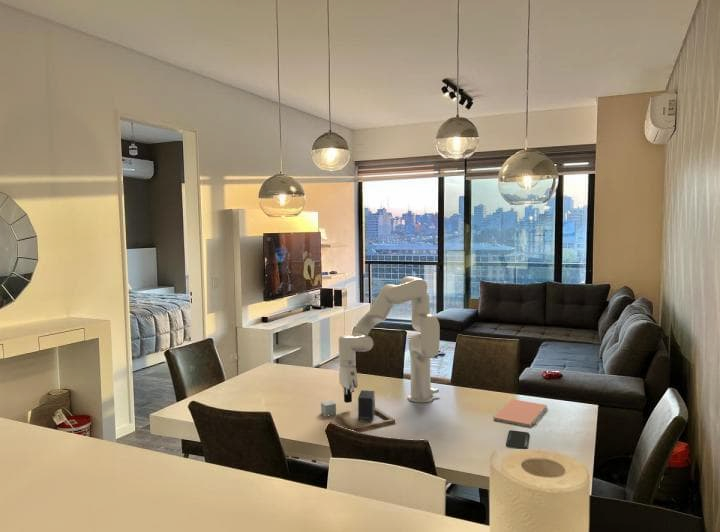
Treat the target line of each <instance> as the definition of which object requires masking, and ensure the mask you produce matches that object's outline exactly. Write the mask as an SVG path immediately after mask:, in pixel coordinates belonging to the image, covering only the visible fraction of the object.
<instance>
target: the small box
mask: <svg viewBox="0 0 720 532" xmlns="http://www.w3.org/2000/svg"><path fill="white" fill-rule="evenodd" d="M375 408H376V395H375V390H363V389H362V390H360V393H359V394H358V397H357V409H358V410H357V414H358V415H357V421H359V422H373V419H374V415H375V414H376V413H375Z"/></svg>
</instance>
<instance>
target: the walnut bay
mask: <svg viewBox="0 0 720 532" xmlns="http://www.w3.org/2000/svg"><path fill="white" fill-rule="evenodd" d="M374 414H375V415H378V416H379V417H380V418H383V419H384V420H381V421H376V422H372V423H371V422H370V423H367V424H363V425H358V426H354V425H353V424H352V423H350V422H348V421H347V420H346V419H344V418H343V417H342V416H341V415H339V414H336V415H334V419H335V420H336V421H337V422H338V423H340V424H342V425H343V426H344V427H345V428H347V430H349V429H351V430H354V431H358V432H361V431H366V430H370V429H376V428H380V427H385V426H389V425H394V424H396V419H395V418H393V417H391V416H390V415H388V414H386V413H385V412H383V411H382V410H380V409H379V408H377V407H375V413H374ZM351 430H350V431H351Z"/></svg>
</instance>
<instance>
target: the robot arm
mask: <svg viewBox="0 0 720 532" xmlns="http://www.w3.org/2000/svg"><path fill="white" fill-rule="evenodd" d="M427 291H428V283H427V281H426V280H425V279H424V278H421V277H416V276H411V275H408V276H404V277H402V278H401V281H400V284H398V285H397V284H393V283H387V284H385V285H383V286H382V287H381V289H380V291H379V293H378V295H377V296H376V298H375V300H374V302H373V304H372V306H371V307H370V309H369V310H368V311H367V312H366V313H365V314H364V316H362V317H361V319H360V320H359V321H358V322H357V323H356V325H355V327H354V328H353V330H352V332H351V334H344V335H340V336H339V338H338V366H339V369H338V371H339V372H338V376H339V377H338V379H339V381H338V382H339V385H340V386H341V387H342V388H343V389H342V390H343V401H344V403H346V404H347V403H352V402H353V393H354V392H355V388H356V389H357V388H358V387H359V386H358V374H357V367H356V352H369V351H370V350H371V349H373V347H374V340H373V338H372V337H371V336H370V335H369V333H370V332H371V330H372V329H373V328H374V327H375V326H376V325H378V324H380V323H382V322H384V321H386V319H387V318H388V316H389V314H390V312H391V310H392V309H393V306H394V305H399V304H404V303H407V302H411V326H412V328H413V330H414V331H417V332H419V333H416V334H413V335H411V337H410V338H409V341H408V350H409V357H410V394H408V395H407V399H408V401H410V402H413V403H417V404H418V403H419V404H423V403H430V402H432V401H434V399H435V398H434V397H435V396H434V394H437V393H439V392H440V389H439V388H433V387H432V388H431V384H432V383H431V359H432V358H434V357H436V356H437V354H438V353H439V351H440V337H441V335H440V332H441V329H440V328H441V327H440V322H439V320H438V318H437V317H436V316H435V315H433V314H431V312H430V296H429V294H428V292H427Z"/></svg>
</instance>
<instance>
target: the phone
mask: <svg viewBox="0 0 720 532" xmlns="http://www.w3.org/2000/svg"><path fill="white" fill-rule="evenodd" d="M529 438H530V433H529V432H528V431H519V430H513V429H511V430H508V434H507V437H506V441H505V447H507V448H512V449H520V450H527V449H528V447H529V446H528V445H529Z"/></svg>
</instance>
